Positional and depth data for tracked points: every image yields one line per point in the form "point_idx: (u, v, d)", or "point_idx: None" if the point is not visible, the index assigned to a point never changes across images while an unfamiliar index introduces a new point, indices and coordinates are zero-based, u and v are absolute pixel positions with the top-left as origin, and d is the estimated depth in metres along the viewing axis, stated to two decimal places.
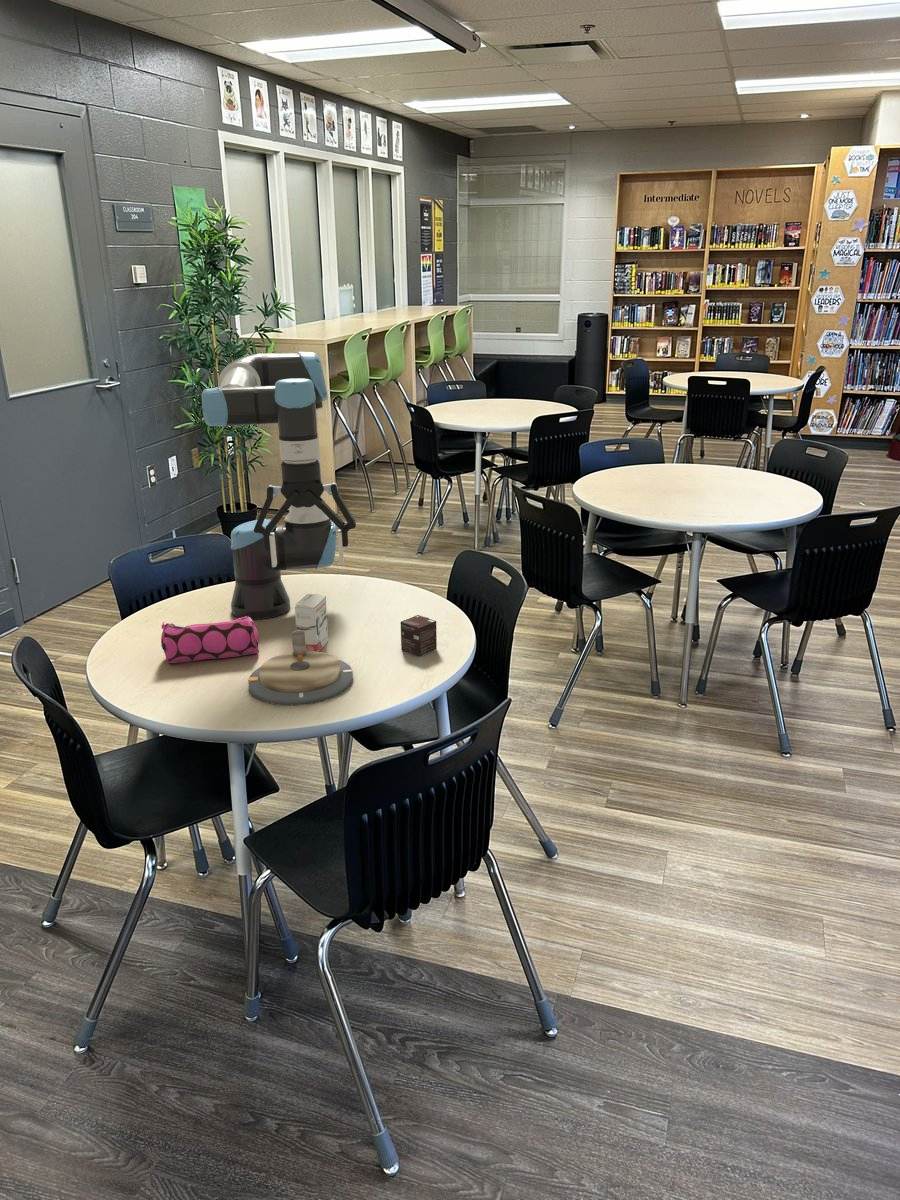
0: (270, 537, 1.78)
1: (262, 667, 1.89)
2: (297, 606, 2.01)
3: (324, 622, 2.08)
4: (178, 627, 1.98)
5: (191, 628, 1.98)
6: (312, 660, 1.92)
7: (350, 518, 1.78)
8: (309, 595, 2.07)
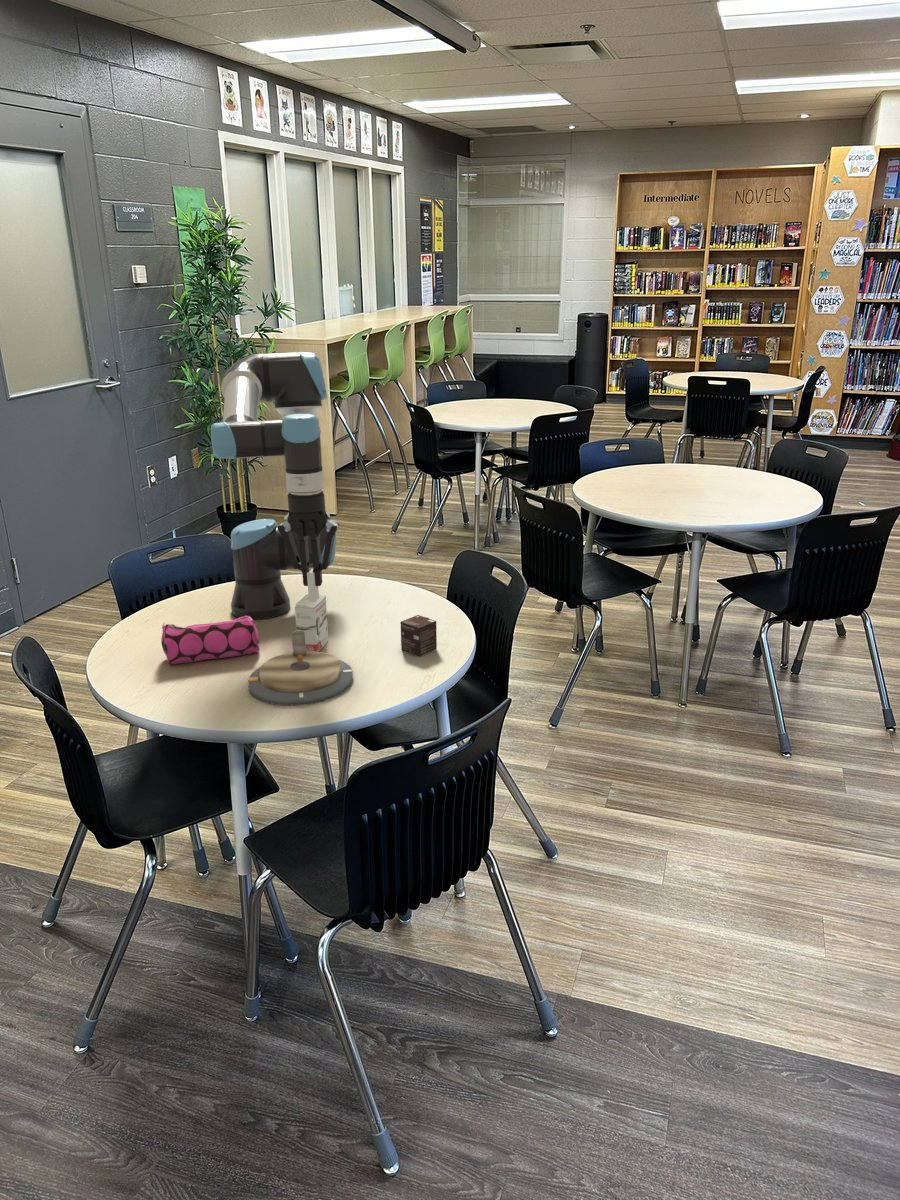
0: (307, 574, 1.87)
1: (262, 667, 1.89)
2: (297, 606, 2.01)
3: (324, 622, 2.08)
4: (179, 628, 1.98)
5: (192, 629, 1.98)
6: (312, 660, 1.92)
7: (327, 560, 1.86)
8: None
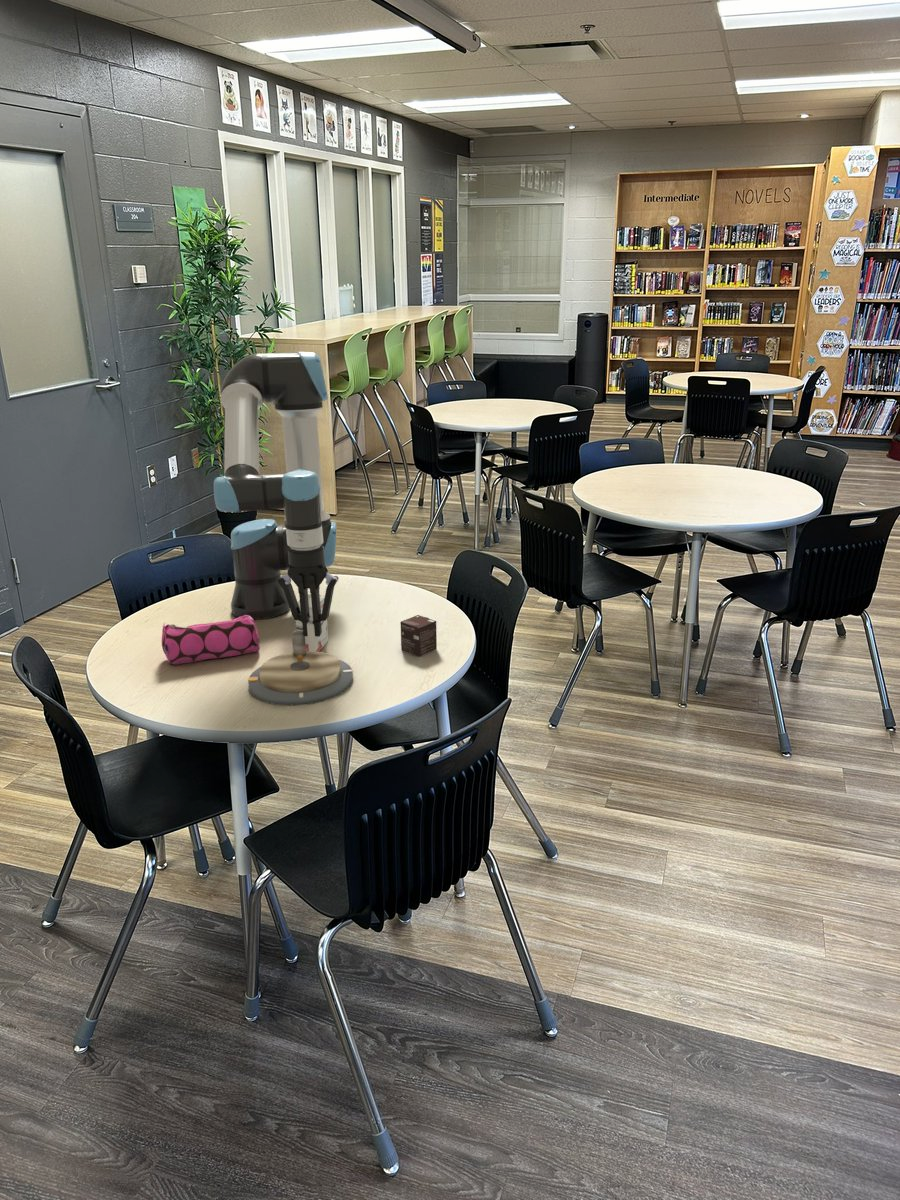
0: (307, 625, 1.91)
1: (262, 667, 1.89)
2: None
3: (324, 622, 2.08)
4: (179, 628, 1.98)
5: (193, 629, 1.98)
6: (312, 660, 1.92)
7: (326, 612, 1.90)
8: (309, 595, 2.07)
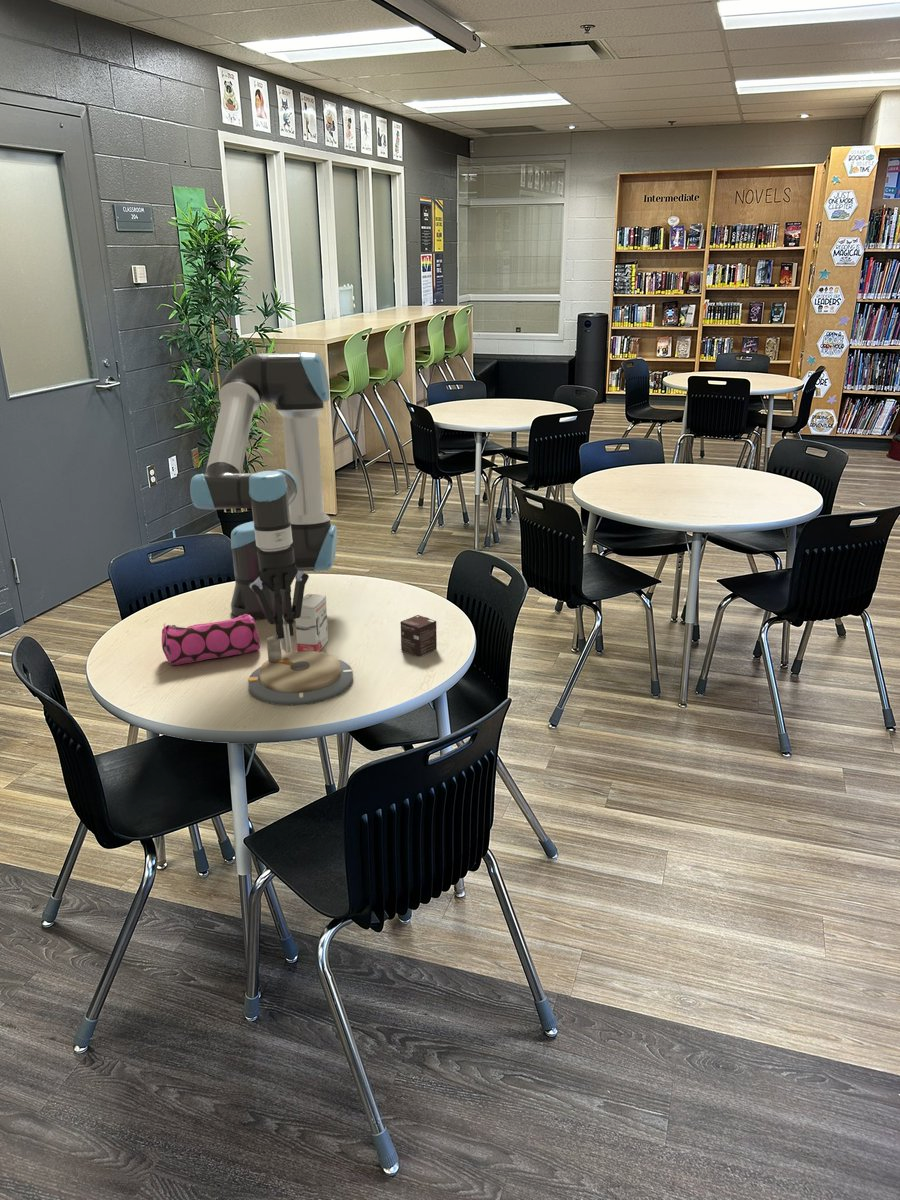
0: (284, 626, 1.90)
1: (270, 679, 1.83)
2: None
3: (324, 622, 2.08)
4: (180, 628, 1.98)
5: (194, 629, 1.98)
6: (296, 659, 1.93)
7: (300, 608, 1.91)
8: (309, 595, 2.07)
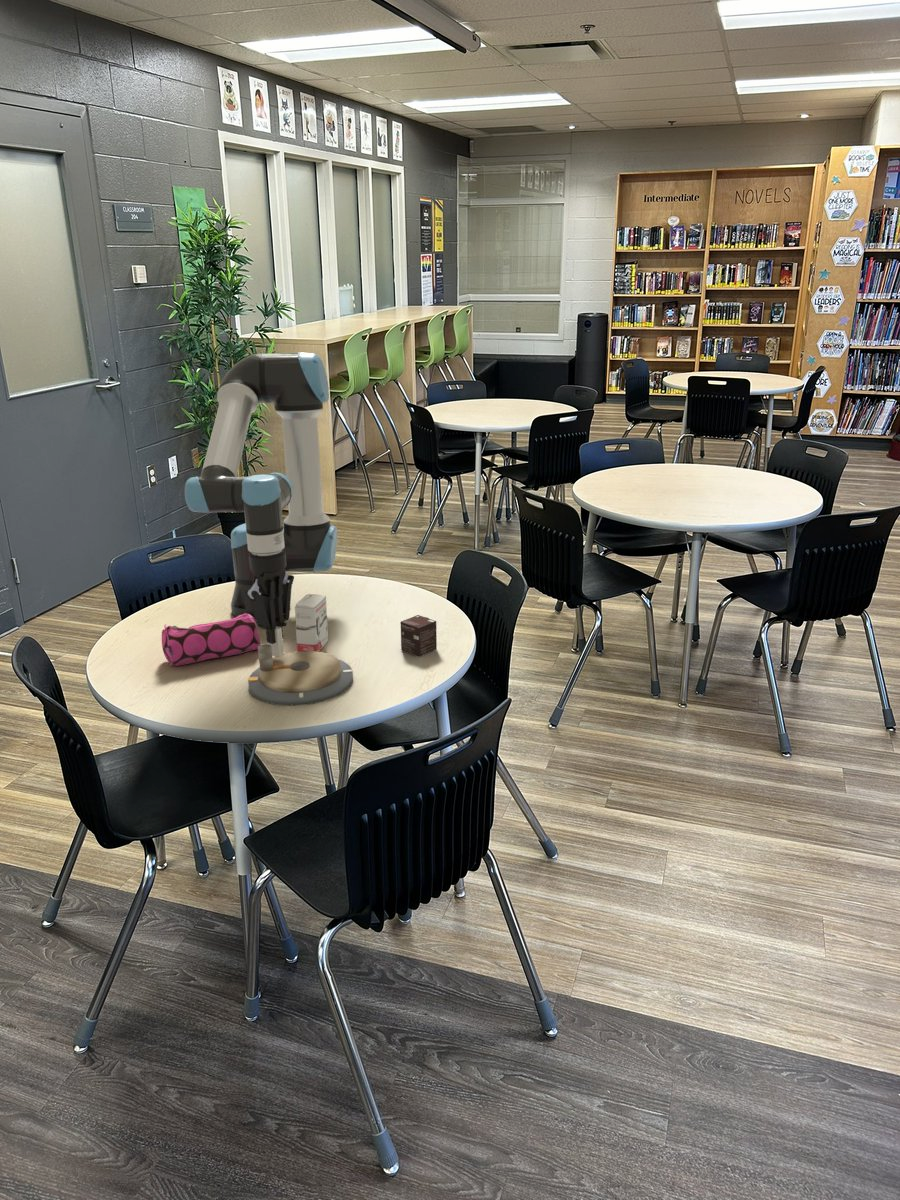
0: (277, 630, 1.89)
1: (290, 682, 1.81)
2: (297, 606, 2.01)
3: (324, 622, 2.08)
4: (181, 629, 1.97)
5: (195, 629, 1.98)
6: (286, 662, 1.91)
7: (288, 610, 1.92)
8: (309, 595, 2.07)
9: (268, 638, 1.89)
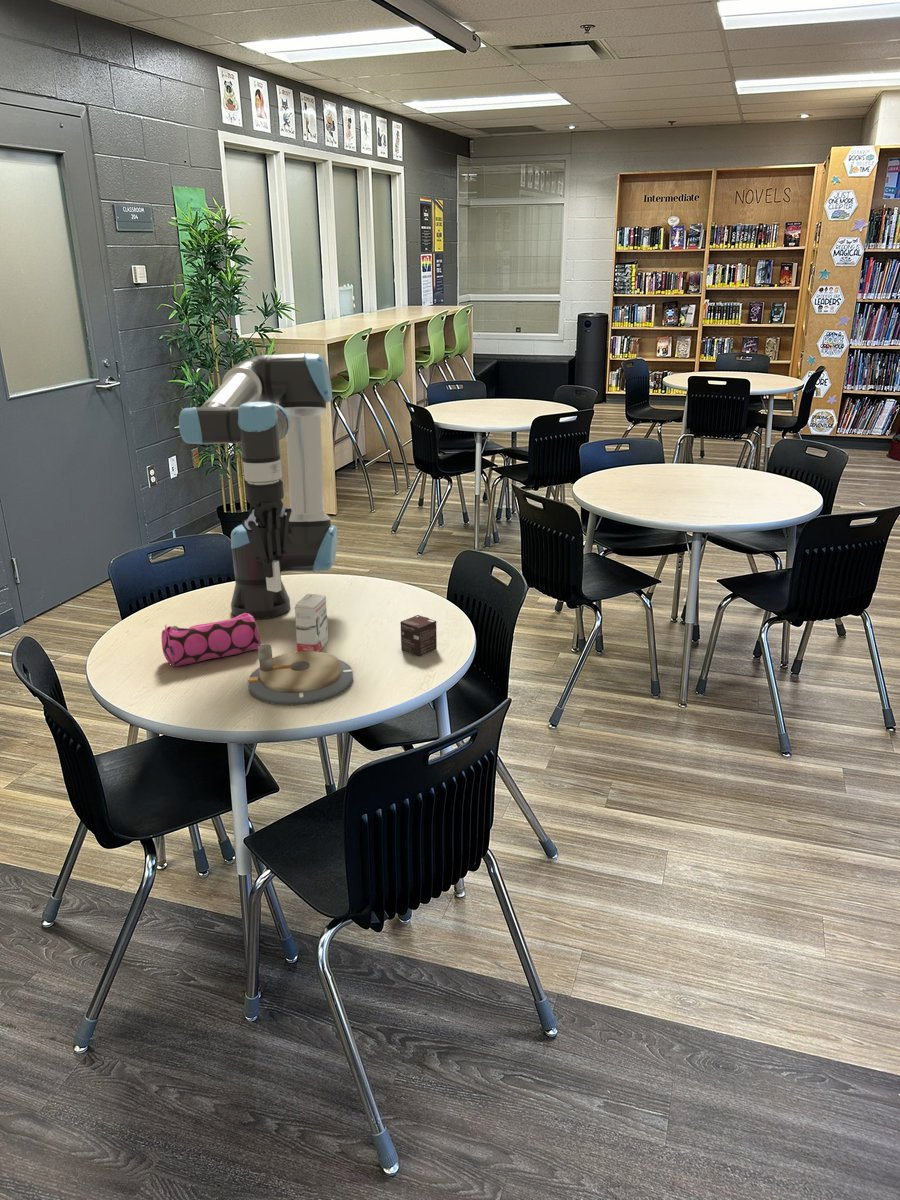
0: (274, 563, 1.85)
1: (290, 682, 1.81)
2: (297, 606, 2.01)
3: (324, 622, 2.08)
4: (182, 629, 1.97)
5: (196, 629, 1.98)
6: (286, 662, 1.91)
7: (286, 544, 1.88)
8: (309, 595, 2.07)
9: (265, 572, 1.85)
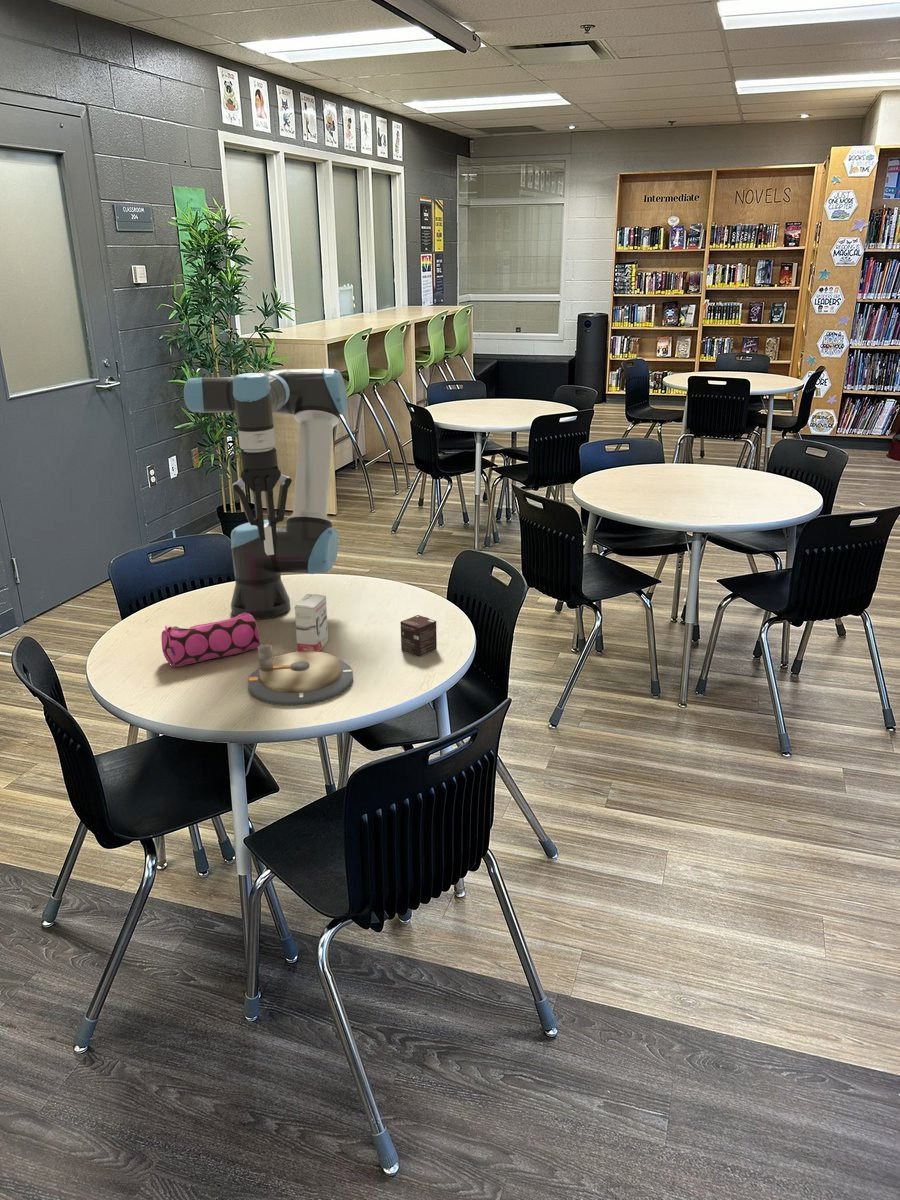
0: (265, 528, 1.95)
1: (290, 682, 1.81)
2: (297, 606, 2.01)
3: (324, 622, 2.08)
4: (183, 629, 1.97)
5: (196, 629, 1.98)
6: (286, 662, 1.91)
7: (283, 512, 1.95)
8: (309, 595, 2.07)
9: (258, 534, 1.96)
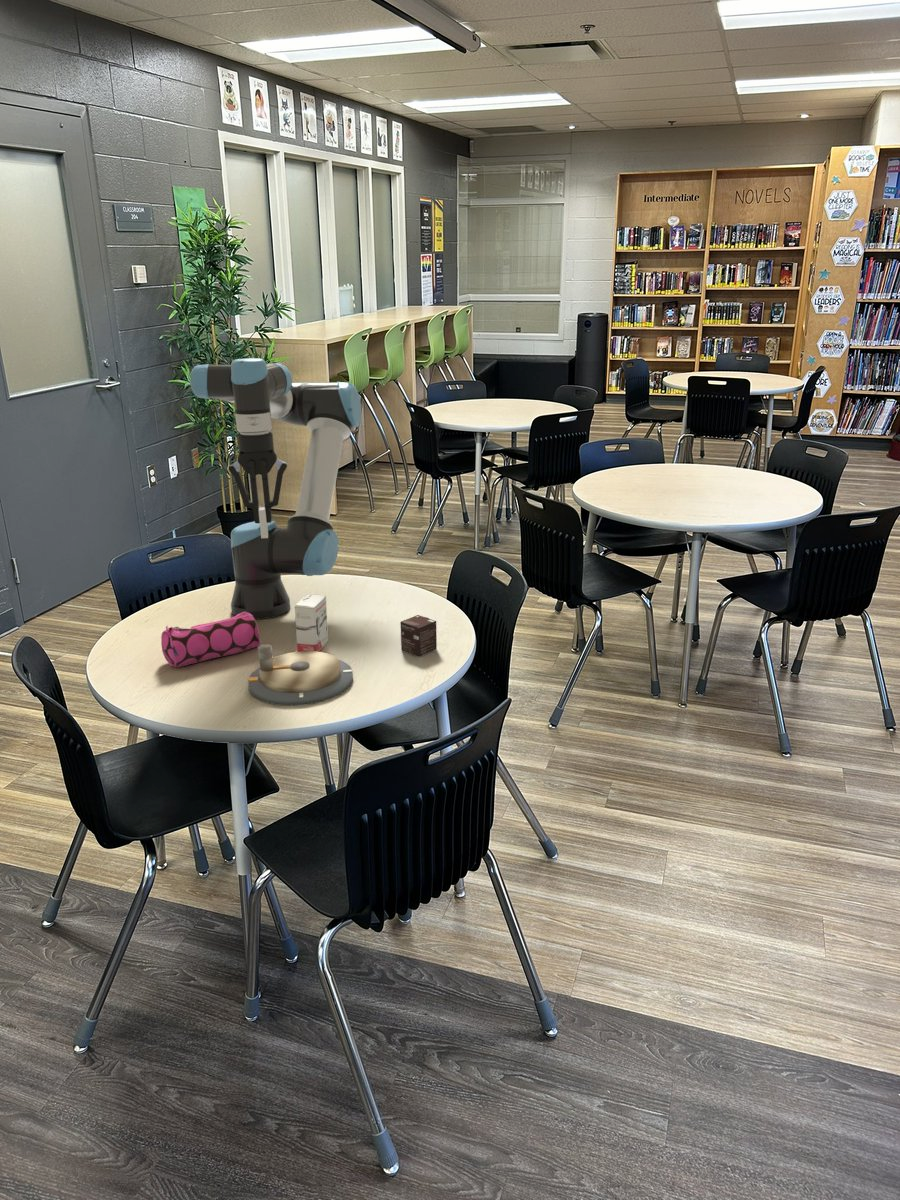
0: (259, 511, 1.98)
1: (290, 682, 1.81)
2: (297, 606, 2.01)
3: (324, 622, 2.08)
4: (184, 629, 1.97)
5: (198, 629, 1.98)
6: (286, 662, 1.91)
7: (277, 496, 1.98)
8: (309, 595, 2.07)
9: (254, 517, 2.00)
